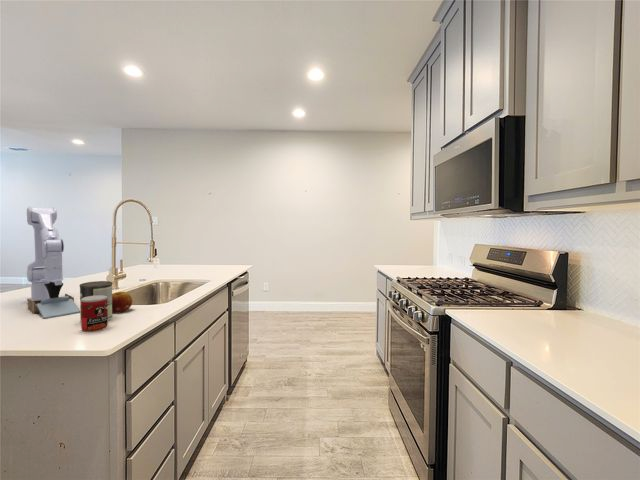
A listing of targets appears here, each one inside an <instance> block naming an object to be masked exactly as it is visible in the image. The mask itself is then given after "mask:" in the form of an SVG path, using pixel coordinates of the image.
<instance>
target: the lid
mask: <svg viewBox="0 0 640 480" xmlns="http://www.w3.org/2000/svg"><path fill="white" fill-rule="evenodd" d="M36 306H37V308H38V309H39V311H40V313H39V314H40V315H41V316H42V319H43V320H48V319H52V318H53V319H54V318H58V317H64V316H65V317H66V316H69V315H74V314H80V308H79V307H78V305H77V304H76V302H75V300H74V301H73V300H72V299H69V296H65V295H64V296H59V297H57V298H49V299H42V300H41V303H39V304H36Z"/></svg>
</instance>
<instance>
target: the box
mask: <svg viewBox="0 0 640 480" xmlns="http://www.w3.org/2000/svg"><path fill="white" fill-rule="evenodd" d="M64 296H69V299H72V300H73V301H74V302H75V298H74V297H73V296H72V295H69V294H68V293H65V294H64ZM29 298H30V297H29ZM29 298H27V309H28V310H29V311H30V312H31V313H33V314H34V315H36V314H37V315H38V314H41V313H40V311H39V309H38V308H37V306H36V304H39V303H41V300H37V301H31V300H30V299H29Z"/></svg>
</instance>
